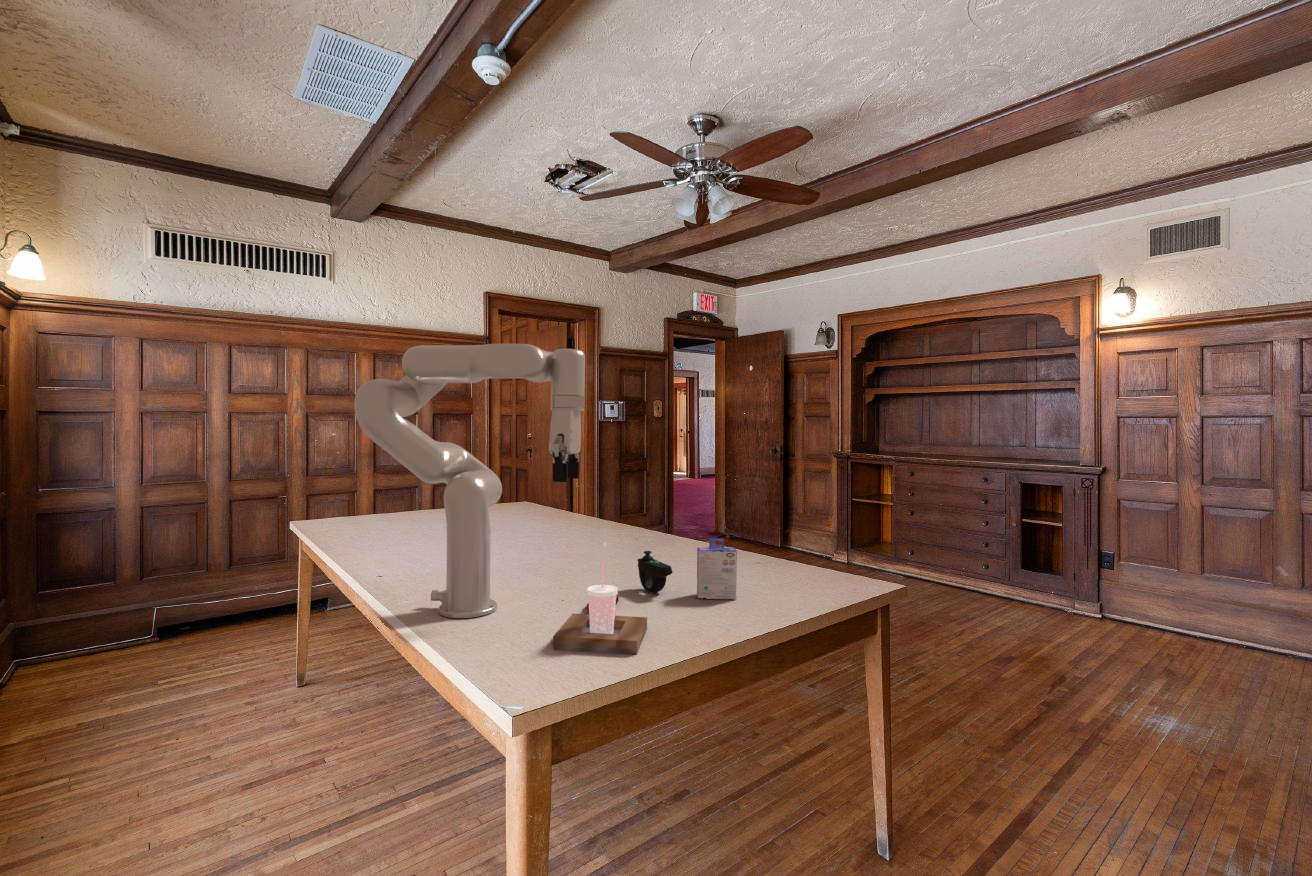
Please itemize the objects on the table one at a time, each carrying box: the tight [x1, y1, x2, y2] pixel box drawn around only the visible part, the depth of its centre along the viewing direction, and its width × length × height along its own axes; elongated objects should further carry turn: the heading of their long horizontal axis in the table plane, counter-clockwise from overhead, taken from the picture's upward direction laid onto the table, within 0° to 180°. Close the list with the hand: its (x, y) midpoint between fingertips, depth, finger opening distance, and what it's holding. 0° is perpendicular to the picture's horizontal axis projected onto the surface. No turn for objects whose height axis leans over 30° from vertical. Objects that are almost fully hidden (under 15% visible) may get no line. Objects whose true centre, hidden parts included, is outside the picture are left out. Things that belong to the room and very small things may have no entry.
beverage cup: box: [586, 562, 619, 634], centre depth 117 cm, size 6×6×14 cm
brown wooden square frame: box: [552, 612, 648, 655], centre depth 116 cm, size 16×14×2 cm
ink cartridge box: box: [696, 537, 738, 600], centre depth 148 cm, size 10×6×14 cm, turn 89°
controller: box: [637, 550, 673, 594], centre depth 150 cm, size 4×12×10 cm, turn 32°
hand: (566, 480), depth 132 cm, fingers open, 9 cm apart
